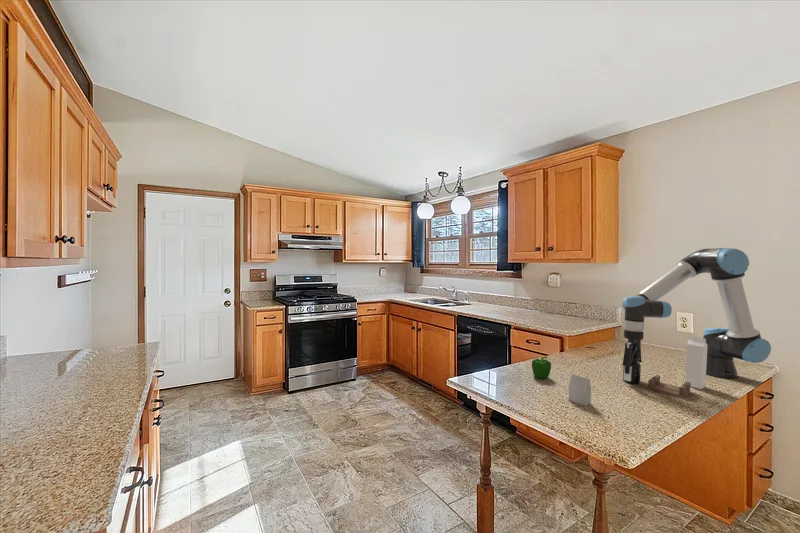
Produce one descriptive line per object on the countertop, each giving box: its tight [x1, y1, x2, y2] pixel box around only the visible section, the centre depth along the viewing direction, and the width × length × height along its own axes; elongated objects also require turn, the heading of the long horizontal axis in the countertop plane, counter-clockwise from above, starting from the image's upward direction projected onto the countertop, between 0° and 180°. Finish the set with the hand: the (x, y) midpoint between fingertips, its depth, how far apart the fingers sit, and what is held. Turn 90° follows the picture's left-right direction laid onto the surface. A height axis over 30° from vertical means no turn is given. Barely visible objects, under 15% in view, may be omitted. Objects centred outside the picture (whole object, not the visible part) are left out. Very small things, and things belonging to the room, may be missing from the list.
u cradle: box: [647, 374, 691, 399], centre depth 158 cm, size 12×12×4 cm
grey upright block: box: [568, 373, 592, 407], centre depth 142 cm, size 4×7×10 cm, turn 35°
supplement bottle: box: [622, 355, 642, 385], centre depth 167 cm, size 7×7×12 cm
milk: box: [684, 336, 707, 390], centre depth 164 cm, size 6×6×22 cm
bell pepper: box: [531, 355, 552, 379], centre depth 170 cm, size 8×8×10 cm
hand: (631, 378), depth 167 cm, fingers open, 10 cm apart
